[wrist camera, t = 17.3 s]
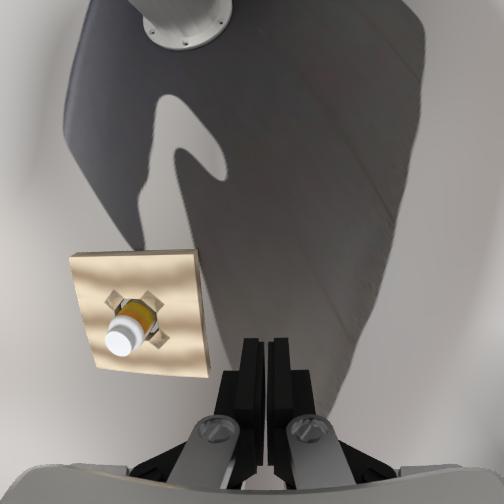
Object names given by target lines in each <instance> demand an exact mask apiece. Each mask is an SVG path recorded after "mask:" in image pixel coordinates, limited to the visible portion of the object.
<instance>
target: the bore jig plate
mask: <svg viewBox="0 0 504 504" xmlns="http://www.w3.org/2000/svg"><path fill="white" fill-rule="evenodd" d="M69 261H70V266H71V271H72V276H73V280H74V285H75V290H76V294H77V298H78V303H79V306H80V311H81V315H82V318H83V322H84V326H85V329H86V333H87V337H88V340H89V343H90V347H91V350H92V353H93V356H94V360H95V362H96V366H97V368H104V369H111V370H118V371H127V372H136V373H146V374H157V375H171V376H185V377H187V376H188V377H206V378H208V377H209V373H210V369H211V367H210V360H209V351H208V343H207V335H206V327H205V318H204V310H203V300H202V292H201V282H200V271H199V261H198V250H197V249H185V250H150V251H149V250H148V251H113V252H81V253H80V252H79V253H76V254H74V255H72V256H70V257H69ZM124 299H141V300H142V301H144V302H145V303H146V304H147V305H148V306H149V307H150V308H152V309H153V310H154V311H155V312H156V314H157V320H158V325H159V328H158V329H157V330H156V331H155V332H154V333H149V334H148V336H147V337H146V339H145V340H144V342H143V344H142V345H141V346H140V347H139V348H138V349H135V350H132V351H131V353H130V354H129V355H127V356H117V355H115V354H113V353H112V352H111V351H110V350H109V349H108V347H107V346H106V343H105V336H106V334H107V333H108V332H109V324H110V322H111V321H112V319H113V318H114V317H115V316H116V315H117V314H118V313H119V312H120V311H121V309H122V308H121V303H122V301H123V300H124Z"/></svg>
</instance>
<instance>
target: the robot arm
mask: <svg viewBox="0 0 504 504" xmlns="http://www.w3.org/2000/svg"><path fill="white" fill-rule="evenodd" d="M128 1H129V2H130V3H131V4H132V5H133V6H134V7H135V8H136V9H137V10H138V11H139V12H140V13H141V14H142V15H143V26H144V29H145V32H146V33H147V35H148V37H149V38H150V39H151V40H152V41H153V42H155V43H156V44H157V45H159V46H161V47H163V48H166V49H170V50H178V51H182V50H190V49H194V48H198V47H200V46H203V45H205V44H207V43H209V42H210V41H212V40H214V39H215V38H216V37H217V36H219V35H220V34H221V33H222V32H223V30H224V29H225V28H226V26H227V25H228V23H229V21H230V19H231V16H232V9H233V6H232V0H128ZM220 23H223V24H220ZM153 33H154V34H153ZM186 44H188V45H187V46H185V45H186ZM264 427H265V358H264V342H259V339H258V338H244V343H243V349H242V356H241V363H240V370H239V371H223V375H222V379H221V384H220V388H219V393H218V398H217V402H216V407H215V411H214V415H212V416H207V417H205V418H203V419H201V420H200V421H198V423H197V424H196V425H195V426H194V428H193V430H192V432H191V435H190V437H189V438H188V441H186V442H184V443H182V444H180V445H178V446H176V447H174V448H173V449H170V450H169V451H166V452H164V453H162V454H160V455H158V456H156V457H154V458H152V459H149V460H148V461H145V462H143V463H141V464H139V465H137V466H136V467H134V468H133V469H128V467H127V466H114V465H95V464H81V463H76V464H71V465H62V464H56V465H55V464H50V465H40V466H34V467H32V468H29V469H27V470H26V471H24V472H23V473H22V474H21V475H20V476H19V477H18V478H17V479H16V480H15V481H14V482H13V484H12V485H11V486H10V487H9V489H8V490H7V492H6V493H5V494H4V496H3V497H2V499H1V500H0V504H504V477H502V476H501V475H500V474H498V473H497V472H495V471H492V470H490V469H485V468H478V467H462V466H460V465H457V464H444V465H429V466H401V467H400V469H392V468H391V467H390V466H388V465H387V464H385V463H383V462H381V461H379V460H377V459H375V458H373V457H371V456H369V455H367V454H365V453H363V452H361V451H359V450H357V449H355V448H353V447H351V446H349V445H347V444H345V443H343V442H341V441H340V440H338V438H337V436H336V434H335V431H334V429H333V426H332V425H331V423H330V422H329V421H328V420H327V419H325V418H324V417H321V416H319V415H316V413H315V406H314V399H313V392H312V386H311V379H310V373H309V370H291V369H290V356H289V343H288V338H274V342H268V381H267V446H268V447H267V448H268V466H274V474H275V475H276V476H278V477H279V478H280V479H282V480H283V481H284V489H285V490H244V488H245V481H246V479H248V478H249V477H251V476H252V475H254V474H256V473H257V466H263V453H264Z"/></svg>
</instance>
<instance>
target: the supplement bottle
mask: <svg viewBox="0 0 504 504" xmlns="http://www.w3.org/2000/svg"><path fill="white" fill-rule="evenodd" d="M156 321H157V314H156V312H155V311H154V310H153V309H152V308H150V307H149V306H148V305H147V304H146V303H145V302H144V301H142V300H141V299H131V300H130V301H129V302H128V303H127V304H126V305H125V306H124V307H123V308H122V309H121V311H120V312H119V313H118V314H117V315H116V316H115V317H114V318H113V319H112V321H111V322H110V324H109V332H108V333H107V334H106V336H105V343H106V346H107V347H108V349H109V350H110V351H111V352H112V353H113V354H115V355H117V356H127V355H129V354H130V353H131V351H132V350H135V349H138V348H139V347H140V346H141V345H142V344H143V342H144V340H145V339H146V337H147V336H148V334H149V333H150V331H151V330H152V328H153V327H154V325H155V323H156Z"/></svg>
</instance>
